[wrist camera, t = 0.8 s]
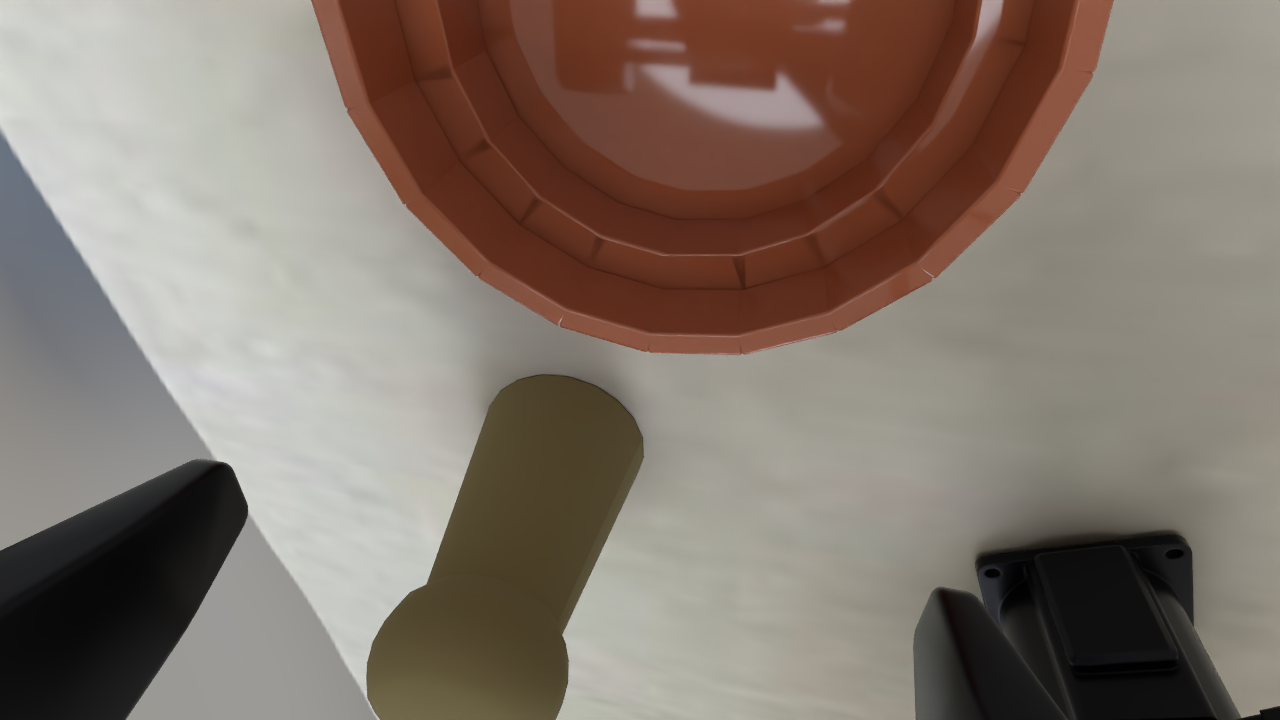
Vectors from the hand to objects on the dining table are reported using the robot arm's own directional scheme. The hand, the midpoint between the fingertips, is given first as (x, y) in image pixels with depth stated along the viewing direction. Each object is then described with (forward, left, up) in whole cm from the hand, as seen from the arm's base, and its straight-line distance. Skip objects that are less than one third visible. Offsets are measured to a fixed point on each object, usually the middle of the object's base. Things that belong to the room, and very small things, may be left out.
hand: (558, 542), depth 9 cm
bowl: (+4, -2, -13) cm, 14 cm away
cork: (-8, +8, -13) cm, 17 cm away
